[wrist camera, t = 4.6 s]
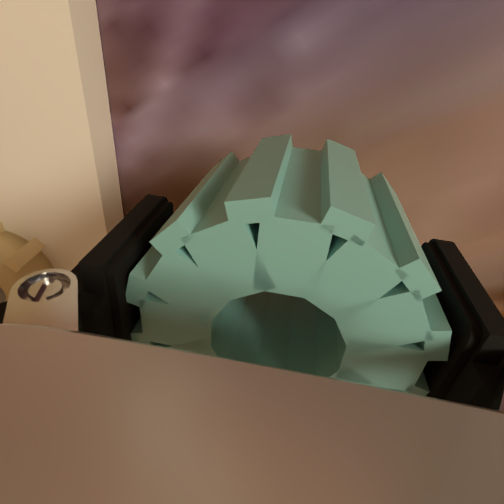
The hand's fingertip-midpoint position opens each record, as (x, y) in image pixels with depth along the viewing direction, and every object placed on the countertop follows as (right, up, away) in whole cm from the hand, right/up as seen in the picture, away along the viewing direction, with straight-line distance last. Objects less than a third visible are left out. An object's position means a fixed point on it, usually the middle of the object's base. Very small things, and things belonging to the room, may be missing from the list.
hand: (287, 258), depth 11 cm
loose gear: (0, 0, +1) cm, 2 cm away
